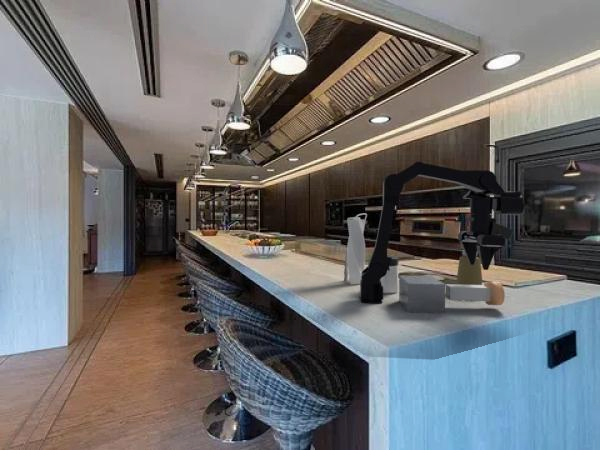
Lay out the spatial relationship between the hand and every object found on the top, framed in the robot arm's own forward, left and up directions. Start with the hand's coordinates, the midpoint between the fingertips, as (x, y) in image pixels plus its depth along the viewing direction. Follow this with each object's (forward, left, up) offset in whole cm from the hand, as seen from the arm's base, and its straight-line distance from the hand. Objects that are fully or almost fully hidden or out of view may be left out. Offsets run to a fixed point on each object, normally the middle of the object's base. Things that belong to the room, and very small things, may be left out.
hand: (478, 267), depth 95 cm
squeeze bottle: (+5, +19, -12) cm, 23 cm away
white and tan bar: (-2, -2, -10) cm, 11 cm away
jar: (-24, +17, -12) cm, 32 cm away
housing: (-17, -2, -12) cm, 21 cm away
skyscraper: (-34, +29, -12) cm, 46 cm away
